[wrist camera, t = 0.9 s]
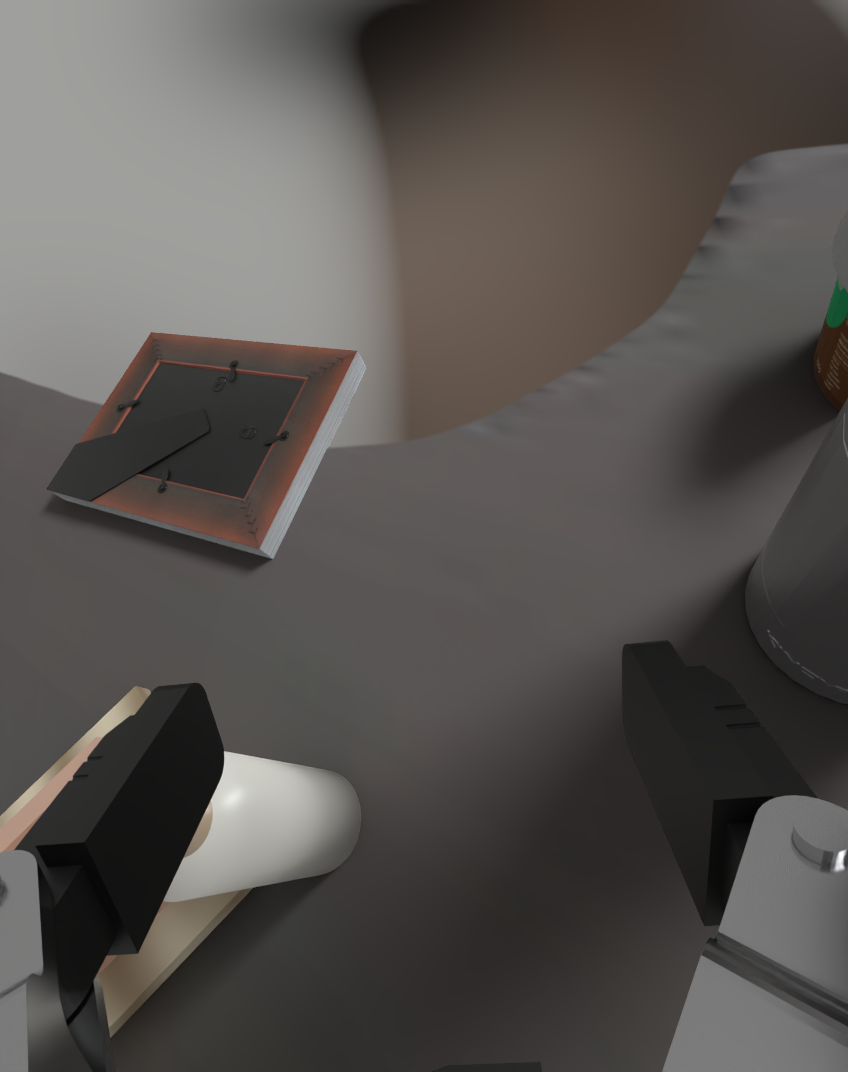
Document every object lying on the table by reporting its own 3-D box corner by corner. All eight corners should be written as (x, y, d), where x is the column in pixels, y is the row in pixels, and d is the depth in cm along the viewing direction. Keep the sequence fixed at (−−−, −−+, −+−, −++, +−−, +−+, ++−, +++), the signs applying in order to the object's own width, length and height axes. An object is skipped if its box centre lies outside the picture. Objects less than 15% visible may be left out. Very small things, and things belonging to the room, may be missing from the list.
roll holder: (149, 689, 37) (111, 678, 34) (261, 879, 30) (225, 885, 27) (-26, 858, 35) (-80, 861, 32) (50, 1101, 28) (-11, 1132, 25)
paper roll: (324, 749, 32) (202, 718, 22) (380, 823, 29) (269, 824, 20) (258, 817, 31) (103, 817, 22) (309, 899, 29) (159, 938, 19)
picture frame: (70, 503, 47) (277, 562, 39) (45, 489, 45) (257, 547, 37) (168, 349, 53) (368, 371, 44) (149, 329, 51) (356, 348, 42)
